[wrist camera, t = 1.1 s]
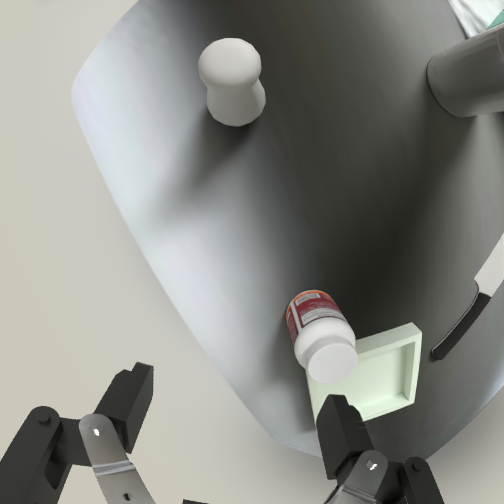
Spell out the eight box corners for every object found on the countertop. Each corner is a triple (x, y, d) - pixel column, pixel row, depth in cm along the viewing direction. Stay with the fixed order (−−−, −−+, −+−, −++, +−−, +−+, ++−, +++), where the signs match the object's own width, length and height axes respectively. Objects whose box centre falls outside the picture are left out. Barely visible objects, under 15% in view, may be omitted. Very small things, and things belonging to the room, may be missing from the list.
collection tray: (412, 322, 35) (421, 332, 32) (406, 391, 39) (413, 402, 36) (302, 354, 36) (305, 368, 33) (313, 420, 40) (317, 433, 37)
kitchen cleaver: (523, 181, 29) (544, 225, 30) (517, 181, 31) (538, 224, 31) (414, 335, 35) (444, 367, 36) (410, 330, 37) (440, 362, 38)
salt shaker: (252, 137, 29) (254, 111, 17) (202, 120, 29) (170, 87, 16) (271, 89, 28) (285, 39, 15) (221, 74, 27) (204, 17, 15)
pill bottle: (316, 340, 36) (336, 398, 25) (275, 320, 35) (284, 378, 24) (345, 302, 34) (378, 351, 23) (304, 278, 33) (326, 325, 23)
